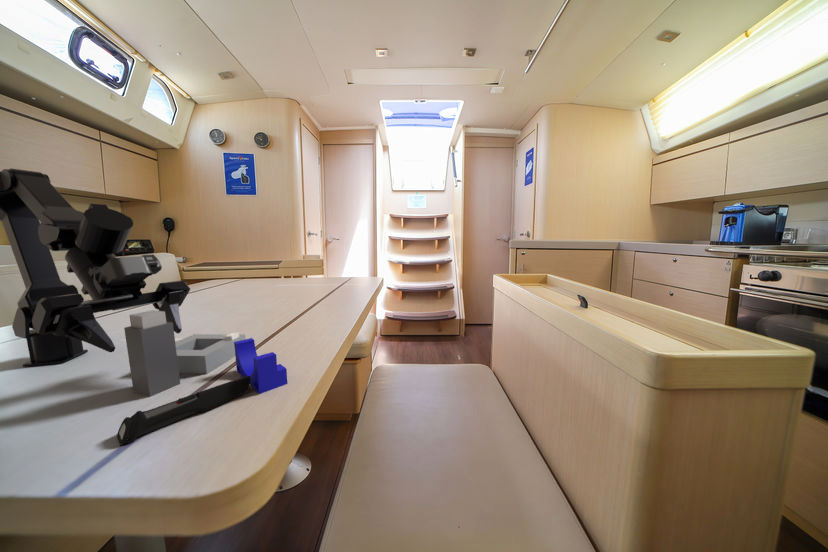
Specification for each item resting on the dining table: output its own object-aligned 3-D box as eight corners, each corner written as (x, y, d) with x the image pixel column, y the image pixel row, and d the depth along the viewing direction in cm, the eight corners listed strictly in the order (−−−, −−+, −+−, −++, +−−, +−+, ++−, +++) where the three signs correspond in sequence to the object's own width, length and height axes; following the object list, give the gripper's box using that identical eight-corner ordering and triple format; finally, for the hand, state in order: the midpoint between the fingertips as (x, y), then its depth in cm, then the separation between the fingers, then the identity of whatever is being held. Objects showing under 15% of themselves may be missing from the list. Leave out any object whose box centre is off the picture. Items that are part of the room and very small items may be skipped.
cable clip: (287, 384, 50) (285, 351, 49) (259, 395, 47) (256, 359, 46) (262, 364, 58) (259, 336, 57) (236, 372, 55) (234, 342, 54)
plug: (133, 391, 48) (122, 315, 46) (164, 379, 52) (155, 309, 50) (150, 396, 46) (139, 317, 44) (180, 383, 50) (171, 311, 48)
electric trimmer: (255, 396, 47) (254, 377, 46) (121, 450, 35) (117, 425, 34) (246, 389, 49) (244, 371, 49) (116, 437, 37) (113, 414, 37)
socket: (145, 373, 54) (142, 351, 54) (195, 348, 66) (193, 330, 66) (206, 373, 54) (204, 351, 53) (246, 349, 66) (244, 331, 65)
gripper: (25, 240, 39) (83, 326, 37) (178, 239, 56) (223, 297, 54) (11, 294, 43) (62, 375, 40) (158, 278, 60) (200, 334, 58)
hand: (149, 340), depth 48 cm, fingers open, 9 cm apart
